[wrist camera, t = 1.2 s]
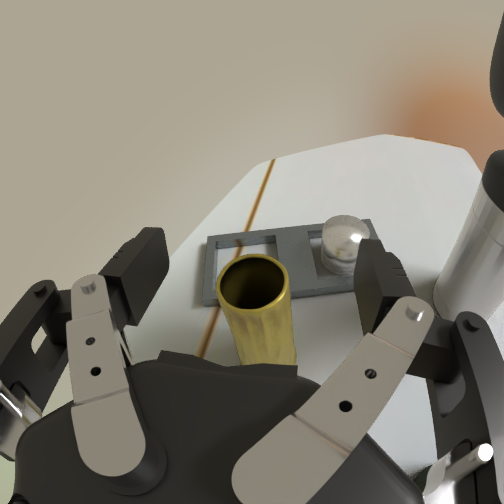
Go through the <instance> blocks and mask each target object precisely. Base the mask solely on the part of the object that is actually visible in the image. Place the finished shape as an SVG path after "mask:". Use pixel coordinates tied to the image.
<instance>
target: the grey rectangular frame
mask: <svg viewBox="0 0 504 504" xmlns="http://www.w3.org/2000/svg"><path fill="white" fill-rule="evenodd" d="M319 237H322V249H321V261H322V263H323V265H324V266H325V268H326V269H328V270H329V271H330V272H332V273H335V274H338V275H351V274H354V269H355V264H356V259H357V254H358V249H359V244H360V240H361V239H362V238H367V239H379V238H378V236H377V234H376V232H375V229H374V227H373V225H372V223H371V220H370V219H363V220H360V219H358V218H356V217H353V216H348V215H339V216H335V217H332V218H330V219H329V220H327V221H326V222H325V223H323V224H313V225H303V226H294V227H285V228H276V229H267V230H258V231H249V232H240V233H232V234H223V235H215V236H208V238H207V248H206V259H205V270H204V281H203V293H202V301H203V303H204V305H205V306H217V305H220V302H219V300H218V297H217V294H216V290H215V289H216V270H217V253H218V249H220V248H229V247H237V246H246V245H255V244H264V243H273V242H276V244H277V252H278V261H279V262H280V263H281V264H282V265H283V266H284V267H285V268H286V270H287V273H288V278H289V287H290V296H291V298H298V297H307V296H315V295H323V294H331V293H339V292H346V291H353V290H354V285H353V276H354V275H352V276H344V277H336V278H328V279H320V280H318V277H317V272H316V267H315V263H314V258H313V254H312V249H311V245H310V240H309V239H310V238H319Z"/></svg>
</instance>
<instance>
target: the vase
mask: <svg viewBox="0 0 504 504" xmlns="http://www.w3.org/2000/svg"><path fill="white" fill-rule="evenodd" d="M216 294H217V297H218V300H219V302H220V305H221V307H222V310H223V312H224V314H225V317H226V319H227V322H228V324H229V327H230V329H231V332H232V334H233V337H234V340H235V343H236V347H237V351H238V354H239V357H240V360H241V365H250V364H259V363H268V364H282V365H295V362H296V350H295V347H294V341H293V326H292V313H291V296H290V287H289V278H288V273H287V270H286V268H285V267H284V266H283V265H282V264H281V263H280V262H279V261H278V260H276V259H275V258H272V257H270V256H267V255H263V254H247V255H243V256H240V257H238V258H236V259H234V260H232V261H230V262H229V263H228V264H227V265H226V266H225V267H224V268H223V270H222V271H221V273H220V274H219V276H218V278H217V283H216Z"/></svg>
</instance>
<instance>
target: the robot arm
mask: <svg viewBox="0 0 504 504" xmlns="http://www.w3.org/2000/svg"><path fill="white" fill-rule="evenodd" d="M490 92H491V97H492V100H493V103H494V106H495V107H496V109H497V111H498V112H499V113H500V114H501V115H502V116H503V117H504V13H503V17H502V21H501V24H500V28H499V32H498V35H497V39H496V43H495V47H494V51H493V57H492V61H491V68H490ZM168 270H169V256H168V251H167V246H166V240H165V234H164V231H163V229H162V228H156V227H155V228H154V227H145V228H143V229H142V230H141V232H140V233H139V234H138V235H137V236H136V237H135V238H133V239H131V240H129V241H128V242H126V243H125V244H123V246H122V247H121V248H120V249H119V250H118V252H117V253H116V254H115V255H114V256H113V258H111V259H110V261H109V262H108V263H107V264H106V265H105V266H104V267H103V269H102V270H101V271H100V272H99V273H98V274H97V275H96V274H92V275H87V276H84V277H82V278H80V279H79V280H77V281H76V282H75V283H74V284H73V286H72V288H71V289H70V290H61V291H58V290H57V287H56V285H55V283H54V282H53V281H52V280H42V281H40V282H37V283H36V284H34V285H33V286H31V288H30V289H29V290H28V291H27V292H26V293H25V294H24V296H23V297H22V298H21V299H20V301H19V302H18V303H17V304H16V305H15V307H14V308H13V309H12V310H11V312H10V313H9V314H8V315H7V317H6V318H5V319H4V321H3V322H2V323H1V325H0V455H1V456H3V457H4V458H5V459H7V460H9V461H15V484H14V491H13V495H12V498H11V500H10V501H9V503H8V504H504V360H503V358H502V355H501V353H500V351H499V348H498V346H497V343H496V341H495V339H494V337H493V334H492V332H491V330H490V328H489V326H488V324H487V322H486V320H487V319H488V318H489V317H490V316H491V315H492V313H493V312H494V311H495V310H496V309H497V308H498V306H499V305H500V304H501V303H502V301H503V300H504V150H498V151H495V152H494V153H492V154H491V155H490V157H489V159H488V160H487V163H486V166H485V169H484V172H483V175H482V179H481V182H480V185H479V187H478V190H477V193H476V196H475V198H474V201H473V204H472V207H471V209H470V212H469V214H468V216H467V219H466V221H465V224H464V226H463V228H462V231H461V233H460V235H459V237H458V239H457V242H456V244H455V246H454V248H453V250H452V252H451V254H450V256H449V258H448V260H447V262H446V264H445V266H444V268H443V270H442V272H441V274H440V276H439V278H438V280H437V282H436V284H435V286H434V289H433V301H434V305H435V308H436V310H437V312H438V314H439V315H440V316H441V318H439V317H436V316H434V311H433V309H432V308H431V306H430V305H429V304H428V303H427V302H425V301H424V300H422V299H419V298H417V297H416V295H415V293H414V290H413V288H412V286H411V284H410V281H409V279H408V277H406V273H405V270H403V266H402V264H401V262H400V260H399V259H398V258H397V257H396V256H395V255H394V254H393V253H391V252H386V251H385V249H384V247H383V245H382V243H381V241H380V239H367V238H362V239H361V240H360V244H359V249H358V254H357V259H356V264H355V269H354V276H353V285H354V290H355V295H356V300H357V304H358V309H359V314H360V319H361V325H362V330H363V335H364V338H363V339H362V340H361V341H360V342H359V344H358V345H357V346H356V347H355V348H354V350H353V351H352V352H351V353H350V354H349V356H348V357H347V358H346V359H345V360H344V361H343V363H342V364H341V365H340V366H339V367H338V368H337V369H336V371H335V372H334V373H333V374H332V375H331V376H330V377H329V378H328V379H327V381H326V382H325V383H324V384H323V385H322V386H320V385H319V384H317V383H315V382H313V381H311V380H309V379H306V378H304V377H301V376H297V368H298V365H282V364H268V363H259V364H250V365H240V366H230V367H225V366H221V365H218V364H215V363H212V362H209V361H207V360H204V359H201V358H199V357H196V356H193V355H189V354H182V353H176V352H170V351H164V350H161V352H160V354H159V357H158V359H157V360H149V361H144V362H140V363H137V364H135V363H134V360H133V357H132V354H131V351H130V347H129V344H128V341H127V337H126V334H125V332H124V327H125V325H131V326H138V324H139V322H140V320H141V319H142V317H143V315H144V313H145V311H146V310H147V308H148V306H149V304H150V303H151V301H152V299H153V297H154V296H155V294H156V292H157V290H158V289H159V287H160V285H161V284H162V282H163V280H164V278H165V277H166V275H167V273H168ZM41 326H42V328H43V330H44V331H45V333H46V335H47V336H46V338H45V339H44V341H43V343H42V344H41V346H40V348H39V349H38V351H37V352H36V354H34V352H33V350H32V348H31V342H32V339H33V337H34V335H35V334H36V332H37V331H38V329H39V328H40V327H41ZM68 361H69V368H70V377H71V384H72V391H73V398H74V400H72V401H70V402H69V403H67V404H65V405H64V406H62V407H60V408H58V409H57V410H55V411H53V412H51V413H49V414H48V415H46V416H44V417H43V418H42V412H43V410H44V408H45V406H46V404H47V402H48V400H49V398H50V396H51V394H52V392H53V390H54V388H55V386H56V384H57V382H58V379H59V378H60V376H61V374H62V373H63V371H64V369H65V367H66V365H67V363H68ZM405 374H409V375H413V376H418V377H422V378H426V383H427V388H428V394H429V399H430V405H431V411H432V417H433V424H434V432H435V439H436V448H437V458H438V461H437V462H435V463H434V464H433V465H432V467H431V468H430V470H429V472H428V475H427V482H426V487H425V489H424V491H423V493H422V492H421V490H420V489H419V487H418V486H417V485H416V484H415V483H414V482H413V481H412V480H411V479H410V478H409V476H408V475H407V474H406V473H405V472H404V471H403V470H402V469H401V468H400V467H399V466H398V465H397V464H396V463H395V462H394V461H393V460H392V459H391V458H390V457H389V456H388V455H387V454H386V452H385V451H384V450H383V449H382V448H381V447H380V446H379V445H378V444H377V443H376V442H375V441H374V440H373V439H372V438H371V437H370V435H369V434H368V433H367V431H368V430H369V429H370V427H371V426H372V424H373V423H374V422H375V420H376V419H377V417H378V416H379V414H380V413H381V411H382V410H383V408H384V407H385V405H386V404H387V402H388V401H389V399H390V398H391V396H392V395H393V393H394V391H395V390H396V388H397V386H398V385H399V383H400V382H401V380H402V378H403V376H404V375H405ZM463 377H464V378H463Z"/></svg>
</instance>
